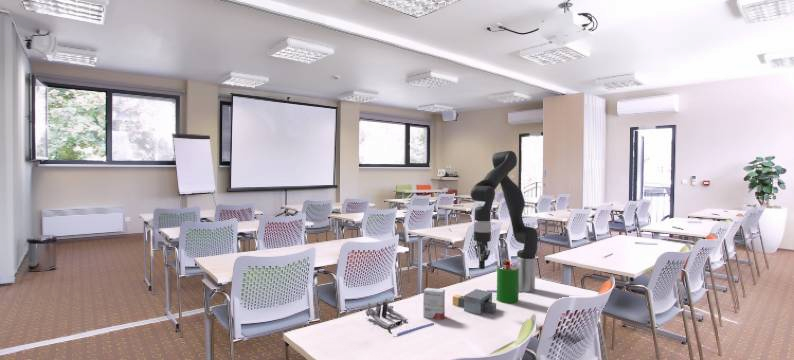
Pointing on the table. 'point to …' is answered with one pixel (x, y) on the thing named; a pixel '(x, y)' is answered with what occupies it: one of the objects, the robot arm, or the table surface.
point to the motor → (507, 284)
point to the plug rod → (488, 306)
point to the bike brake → (384, 314)
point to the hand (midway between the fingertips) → (481, 268)
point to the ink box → (434, 303)
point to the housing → (476, 301)
